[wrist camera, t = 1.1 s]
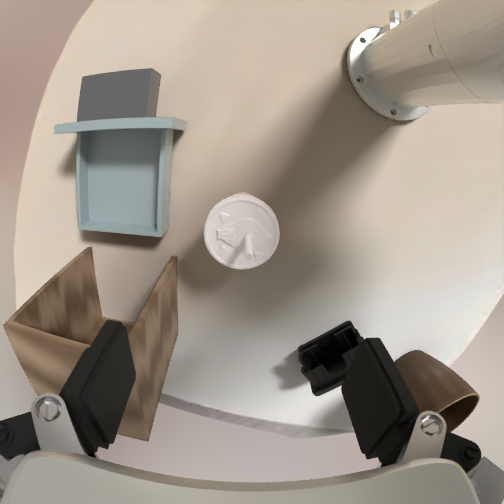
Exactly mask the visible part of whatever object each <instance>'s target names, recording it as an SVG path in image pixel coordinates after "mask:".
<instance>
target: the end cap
mask: <svg viewBox="0 0 504 504" xmlns="http://www.w3.org/2000/svg"><path fill="white" fill-rule="evenodd" d="M363 341H364V338H363V337H361V336H360V334H359V332H358V330H357V329H355V328H354V326H353V324H352V322H351V321H346V322H344V323H342V324H341V325H339V326H337V327H335V328H333V329H332V330H330V331H328V332H326V333H324V334H322V335H320V336H319V337H317V338H315V339H313V340H311V341H309V342H307V343H305V344H303V345H301V346H300V347H299V348H298V350H299V361H300V363H301V364H302V365H303V367H301V372H302V373H303V375H304V376H305V377H306V378H307V379H308V380H309V382H310V384H311V389H312V393H313V394H314V395H315V396H320V395H322V394H324V393H327V392H329V391H331V390H333V389H335V388H337V387H339V386H341V385H342V384H343V381H344V379H345V377H346V375H347V373H348V371H349V368H350V366H351V364H352V362H353V359H354V357H355V355H356V352H357V350H358V347H359V345H360V343H361V342H363Z"/></svg>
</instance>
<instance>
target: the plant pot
mask: <svg viewBox="0 0 504 504" xmlns="http://www.w3.org/2000/svg"><path fill="white" fill-rule="evenodd" d="M395 365H396V367H397V369H398V370H399V372H400V374H401V376H402V377H403V379H404V381H405V383H406V385H407V386H408V388H409V390H410V392H411V394H412V396H413V398H414V399H415V401H416V403H417V405H418V407H419V412H420V414H421V413H422V412H425V411H433V412H436V413H438V414H439V415H441V416H442V417H443V419H444V420H445V422H446V431H449V432H451V431H453V430H454V429H455V428H457V427H458V426H459V425H460V424H461V423H462V422H463V421H464V420H465V419H466V418H467V417H468V416H469V415H470V414H471V413H472V412H473V410H474V409H475V407H476V406H477V404H478V402H479V395H478V394H477V392H475V390H474V389H473V388H472V387H471V386H470V385H469V384H468V383H467V382H466V381H464V380H463V379H462V378H461V377H460V376H459V375H458V374H456V373H455V372H454V371H453V370H451V369H450V368H449V367H447V366H446V365H444V364H443V363H442V362H440V361H438V360H437V359H435V358H433V357H432V356H430V355H428V354H426V353H424V352H422V351H420V350H414V351H411V352H409V353H407V354H405V355H403V356H402V357H401V358H400V359H399V360H398V361H397V362H396V363H395Z"/></svg>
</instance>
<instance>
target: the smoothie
mask: <svg viewBox="0 0 504 504" xmlns="http://www.w3.org/2000/svg"><path fill="white" fill-rule="evenodd" d="M279 237H280V231H279V224H278V221H277V218H276V215H275V214H274V212H273V211H272V209H271V208H270V207H269V206H268V205H267V204H266V203H265V202H263V201H262V200H260V199H258V198H255V197H254V196H253V195H251V194H250V193H247V192H239V193H236V194H234V195H233V196H231V197H228V198H225V199H223V200H222V201H220V202H219V203H217V204H216V205H215V206H214V207H213V208H212V210H211V211H210V212H209V214H208V216H207V218H206V221H205V226H204V241H205V244H206V247H207V249H208V251H209V253H210V254H211V255H212V256H213V258H214V259H216V260H217V261H218V262H219V263H221V264H223V265H224V266H227V267H229V268H233V269H250V268H254V267H257V266H259V265H261V264H263V263H264V262H266V261H267V260H268V259H269V258H270V257H271V256H272V255H273V253H274V252H275V250H276V248H277V245H278V242H279Z"/></svg>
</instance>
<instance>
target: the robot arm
mask: <svg viewBox="0 0 504 504" xmlns="http://www.w3.org/2000/svg"><path fill="white" fill-rule="evenodd" d="M404 14H405V20H404V21H402V22H401V16H400V13H399V12H398V11H390V24H389V25H387V26H386V27H384V28H380V27H378V28H371V29H368V30H365V31H363V32H362V33H361V34H359V35H358V36H357V37H356V38H355V39H354V40H353V41H352V43H351V45H350V47H349V50H348V53H347V68H348V73H349V76H350V80H351V82H352V84H353V86H354V88H355V90H356V91H357V93H358V94H359V96H360V97H361V98H362V99H363V100H364V102H365V103H366V104H367V105H368V106H369V107H371V108H372V109H373V110H374V111H376V112H377V113H379V114H381V115H382V116H385V117H387V118H390V119H393V120H399V121H407V120H413V119H416V118H419V117H421V116H422V115H423V114H425V113H426V112H427V111H428V110H429V108H430V107H431V106H434V105H449V104H480V103H490V104H494V103H504V0H439V1H437V2H436V3H434V4H432V5H430V6H428V7H426V8H425V9H423V10H421V11H419V12H417V13H416V12H414V11H405V13H404ZM400 22H401V23H400ZM360 41H361V42H362V43H361V42H360ZM357 79H358V80H359V82H358V81H357ZM391 112H392V114H391ZM135 380H136V370H135V366H134V362H133V357H132V353H131V348H130V343H129V338H128V333H127V328H126V326H123V324H122V322H121V321H115V320H110V319H108V320H107V321H106V322H105V323H104V325H103V326H102V328H101V330H100V331H99V333H98V334H97V336H96V337H95V339H94V341H93V342H92V344H91V346H90V347H88V348H86V349H85V351H84V352H83V354H82V355H81V357H80V359H79V360H78V362H77V364H76V365H75V367H74V369H73V370H72V372H71V374H70V376H69V377H68V379H67V381H66V383H65V384H64V386H63V388H62V390H61V392H60V393H59V395H56V394H52V393H46V394H42V395H40V396H38V397H37V398H36V399H35V400H34V402H33V403H32V406H31V412H28V413H25V414H21V415H18V416H15V417H12V418H8V419H5V420H2V421H0V504H501V503H502V501H503V499H504V471H503V470H501V469H500V468H499V467H497V466H496V465H495V464H493V463H492V462H491V461H490V460H488V459H487V458H486V457H483V458H481V451H480V448H479V446H478V445H477V444H476V443H474V442H472V441H470V440H468V439H465V438H462V437H460V436H458V435H455V434H453V433H451V432H449V431H446V422H445V420H444V419H443V417H442V416H441V415H439V414H438V413H436V412H433V411H425V412H422V413H421V414H420V412H419V407H418V405H417V403H416V401H415V399H414V398H413V396H412V394H411V392H410V390H409V388H408V386H407V385H406V383H405V381H404V379H403V377H402V376H401V374H400V372H399V370H398V369H397V367H396V365H395V363H394V362H393V360H392V358H391V356H390V355H389V353H388V351H387V349H386V348H385V346H384V344H383V343H382V341H381V339H380V338H366V339H365V340H364V341H363V342H361V343H360V345H359V347H358V350H357V352H356V355H355V357H354V359H353V362H352V364H351V366H350V368H349V371H348V373H347V375H346V377H345V379H344V381H343V384H342V388H341V390H342V394H343V397H344V400H345V403H346V406H347V409H348V412H349V415H350V418H351V421H352V424H353V427H354V431H355V434H356V437H357V440H358V443H359V446H360V449H361V452H362V453H363V454H365V456H366V458H367V459H371V458H376V457H378V459H379V464H378V466H377V468H376V469H372V470H367V471H362V472H357V473H351V474H346V475H340V476H334V477H327V478H320V479H310V480H300V481H286V482H224V481H210V480H200V479H191V478H184V477H176V476H170V475H164V474H159V473H154V472H149V471H144V470H140V469H135V468H131V467H127V466H123V465H119V464H115V463H111V462H108V461H104V460H100V459H99V458H98V456H97V454H96V452H97V450H98V447H102V448H105V449H108V447H109V444H110V443H111V444H113V443H114V440H115V437H116V435H117V431H118V428H119V425H120V422H121V419H122V416H123V414H124V411H125V408H126V405H127V402H128V399H129V396H130V394H131V391H132V388H133V385H134V383H135Z"/></svg>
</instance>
